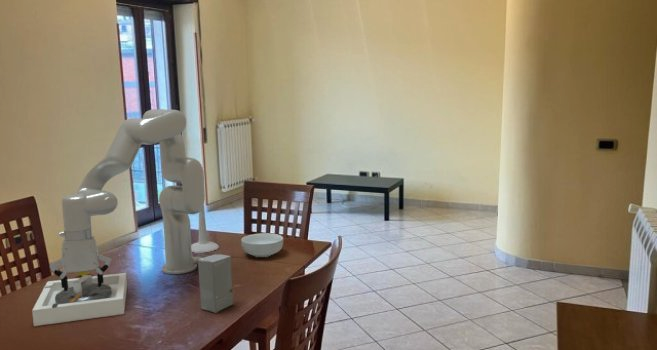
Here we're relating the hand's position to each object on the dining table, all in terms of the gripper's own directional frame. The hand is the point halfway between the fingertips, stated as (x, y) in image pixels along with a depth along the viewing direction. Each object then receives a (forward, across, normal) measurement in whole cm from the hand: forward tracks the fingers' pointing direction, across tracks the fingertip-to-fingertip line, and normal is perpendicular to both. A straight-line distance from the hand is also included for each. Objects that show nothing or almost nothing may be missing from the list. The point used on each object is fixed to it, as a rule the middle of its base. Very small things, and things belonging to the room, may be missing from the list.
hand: (83, 287), depth 163 cm
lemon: (+6, -3, +27) cm, 28 cm away
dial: (+3, 0, 0) cm, 3 cm away
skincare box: (+6, +39, -16) cm, 43 cm away
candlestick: (+6, +41, +47) cm, 63 cm away
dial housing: (+5, 0, 0) cm, 5 cm away
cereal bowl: (+6, +63, +30) cm, 70 cm away
